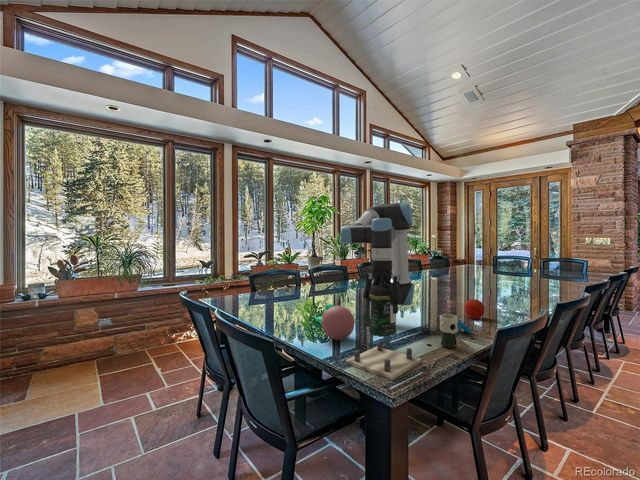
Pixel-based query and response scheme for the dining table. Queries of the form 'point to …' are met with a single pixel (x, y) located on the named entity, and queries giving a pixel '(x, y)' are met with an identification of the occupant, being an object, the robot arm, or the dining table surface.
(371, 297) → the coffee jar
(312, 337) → the dining table surface
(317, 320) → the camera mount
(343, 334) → the pink ovoid
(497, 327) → the dining table surface
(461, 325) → the blue irregular piece
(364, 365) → the locator plate
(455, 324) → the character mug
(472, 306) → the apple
